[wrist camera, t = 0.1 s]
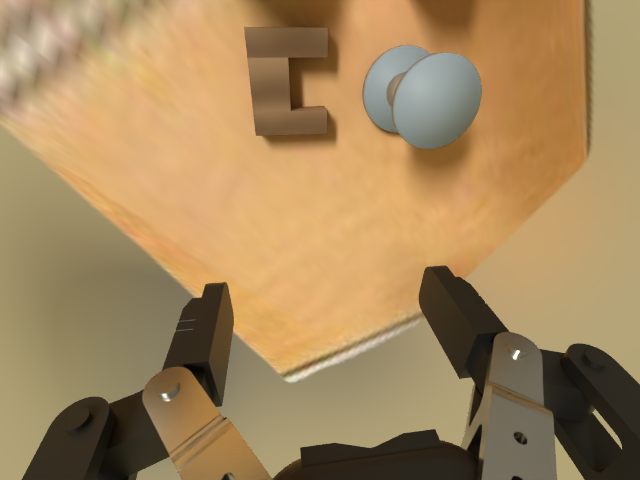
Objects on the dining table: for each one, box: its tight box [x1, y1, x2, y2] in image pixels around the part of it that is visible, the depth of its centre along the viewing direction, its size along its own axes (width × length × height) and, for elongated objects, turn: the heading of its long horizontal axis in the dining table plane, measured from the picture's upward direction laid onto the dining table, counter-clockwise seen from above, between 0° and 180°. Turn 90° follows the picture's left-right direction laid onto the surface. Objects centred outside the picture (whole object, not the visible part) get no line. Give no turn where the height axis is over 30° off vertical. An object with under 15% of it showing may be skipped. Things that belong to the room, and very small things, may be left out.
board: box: [244, 27, 328, 136], centre depth 33 cm, size 10×8×2 cm
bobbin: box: [363, 46, 482, 149], centre depth 32 cm, size 9×9×10 cm
